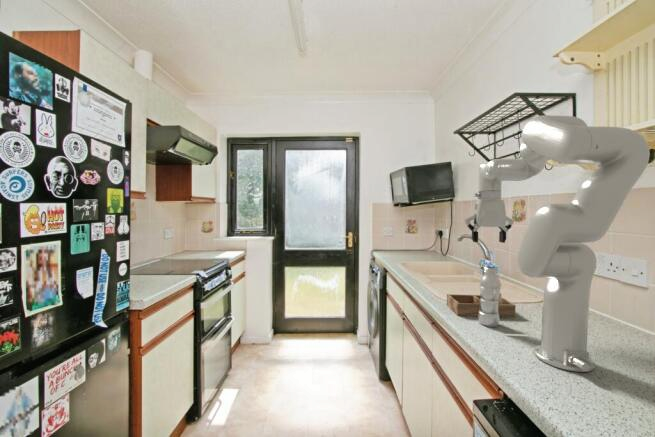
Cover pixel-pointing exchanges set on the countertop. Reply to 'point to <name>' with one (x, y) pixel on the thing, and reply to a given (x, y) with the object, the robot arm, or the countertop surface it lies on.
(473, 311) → the crate
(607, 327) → the countertop surface
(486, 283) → the grey metal bottle
